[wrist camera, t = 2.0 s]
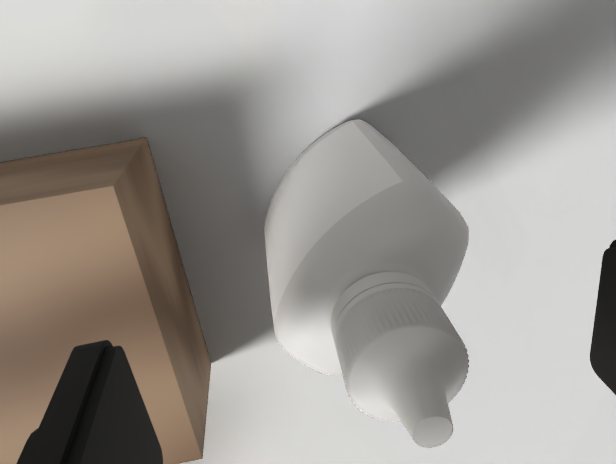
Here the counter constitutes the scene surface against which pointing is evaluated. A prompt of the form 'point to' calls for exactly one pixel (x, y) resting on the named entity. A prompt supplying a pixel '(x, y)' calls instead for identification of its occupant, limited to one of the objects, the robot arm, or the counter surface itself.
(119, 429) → the robot arm
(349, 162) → the eye dropper bottle
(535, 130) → the counter surface
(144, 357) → the walnut base
